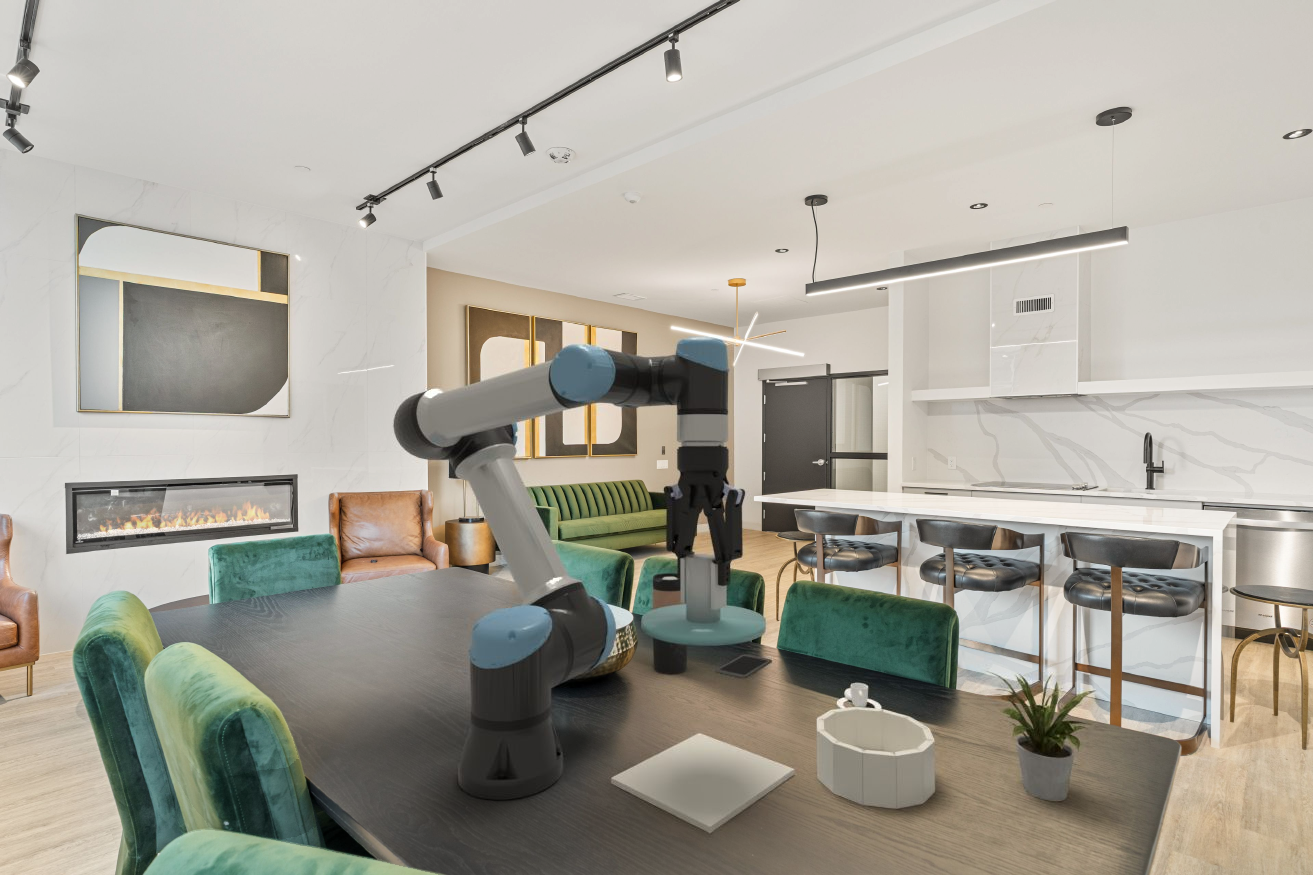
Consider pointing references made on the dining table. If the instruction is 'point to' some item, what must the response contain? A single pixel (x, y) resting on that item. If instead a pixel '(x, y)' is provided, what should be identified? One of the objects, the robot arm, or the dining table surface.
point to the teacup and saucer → (857, 696)
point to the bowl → (875, 757)
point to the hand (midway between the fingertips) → (703, 604)
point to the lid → (702, 614)
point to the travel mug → (665, 653)
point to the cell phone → (743, 666)
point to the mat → (703, 780)
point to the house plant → (1044, 743)
